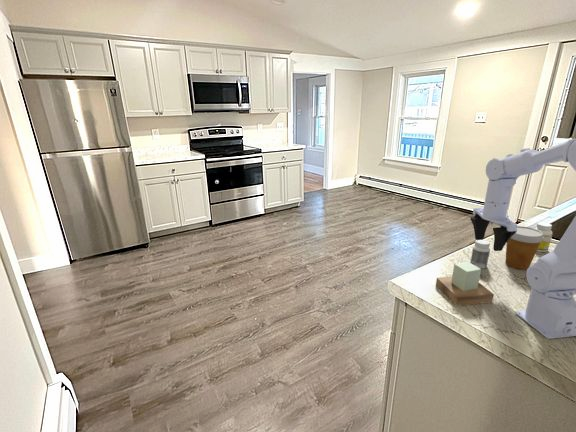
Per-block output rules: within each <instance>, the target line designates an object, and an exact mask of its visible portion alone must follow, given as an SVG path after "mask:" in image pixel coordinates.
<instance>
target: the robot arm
mask: <svg viewBox="0 0 576 432" xmlns="http://www.w3.org/2000/svg"><path fill="white" fill-rule="evenodd" d="M559 162H565V163H569V165H570V166H571V168H572V169H573V170H574V171H575V172H576V138H571V139H568V140H566V141H564V142H562V143H558V144H556V145H553V146H550V147H548V148H545V149H542V150H540V151H538V150H536V149H531V148H529V147H528V148H522V149H520V152H518V153H514V154H507V155H506V156H505V157H504V158H496V157H495V158H492V159H490V160H489V161H488V162H487V164H486V166H485V175H486V176H487V178H488V181H487V189H486V192H485V198H484V203H483V204H484V205H483V208H482V207H475V208H473V211H472V214H473V216H470V218H469V219H470V221H471V224H472V226H473V233H474V238H475V241H476V240H484V238H485V235H486V231H487V228H488V226H489V224H490V222H491V223H493V224H495V225H497V226H499V227H493V228H492V231H493V237H494V239H493V240H494V241H493V248H492V249H493V251H494V252H501V251H503V249H504V247H505V246H506V245H507V241H508V240H509V239H510V238H511V237H512V236H513V235H514V234H515V233H516V232H517V230H516V229H517V226H518V224H517V223H515V222H514V221H512V220H511V219H510V217H509V216H510V215H509V214H508V209H509V205H510V201H511V196H512V191H513V187H514V186H515V185H516V184H517V180H518V179H519V177H522V176H526V175H529V174H534V173H538V172H540V170H542V168H543V166H545V165H550V164H555V163H559ZM525 275H526V280H527V283H528V285H529V287H530V288H531V289H530V293H529V297H528V301H527V304H526V307H525V309H524V310H515V315H517V316H518V317H519V318H521V319H522V320H523V321H525V322H526V323H527V324H528V325H530V326H531V327H532V328H534V329H535V330H536V331H537V332H539V334H541V335H542V336H543V337H545V338H546V339H549V340H552V339H561V338H568V337H576V299H575V297H574V295H576V215H575V216H574V218H573V219H572V221H571V222H570V224H569V226H568V227H567V228H566V230H565V232H564V234H563V235H561V238H560V239H559V241H558V242H557V244H556V246H555V247H554V249H553V250H552V251H551V252H548V253H547V254H544V255H542V256H540V257H539V258H538V259H537V260H536V262H535V263H533V264H530V266H529V268H528V269H526V272H525Z"/></svg>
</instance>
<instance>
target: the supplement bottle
mask: <svg viewBox="0 0 576 432" xmlns="http://www.w3.org/2000/svg"><path fill="white" fill-rule="evenodd" d="M552 227H553V225H552V224H550V223H549V222H544V221H543V222H542V221H541V222H537V224H536V227H535V228H534V229H537V230H539V231H541V232H542V233H543V237H544V239H543V240H542V241H541V242H540V244H539V247H538V249H537V251H536V253H547V252H548V251H549V248H550V245H551V240H552V239H553V238H552V237H553V231H552Z"/></svg>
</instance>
